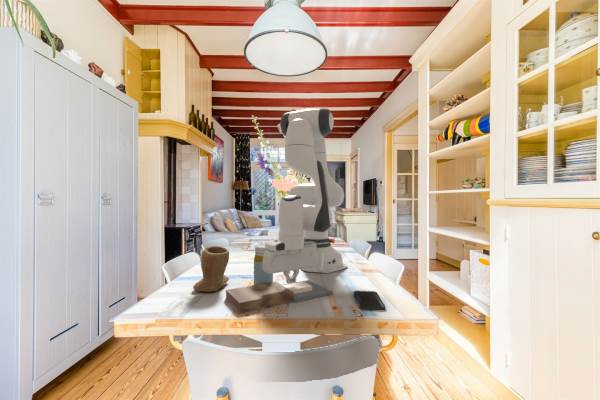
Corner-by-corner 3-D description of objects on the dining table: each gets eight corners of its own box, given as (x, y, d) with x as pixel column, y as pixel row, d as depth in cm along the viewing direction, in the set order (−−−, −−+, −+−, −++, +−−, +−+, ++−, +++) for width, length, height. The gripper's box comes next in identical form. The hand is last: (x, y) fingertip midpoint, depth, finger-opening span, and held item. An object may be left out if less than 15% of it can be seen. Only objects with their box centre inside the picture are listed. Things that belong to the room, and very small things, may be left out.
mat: (308, 282, 114) (308, 280, 114) (332, 294, 101) (332, 291, 101) (274, 289, 106) (274, 286, 106) (295, 302, 93) (295, 299, 93)
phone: (376, 291, 102) (386, 308, 87) (376, 294, 102) (386, 312, 87) (353, 290, 102) (359, 307, 87) (353, 293, 102) (359, 311, 88)
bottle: (250, 286, 109) (250, 246, 109) (264, 282, 114) (264, 243, 114) (262, 290, 104) (262, 248, 104) (276, 286, 109) (276, 246, 109)
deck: (275, 289, 105) (275, 281, 105) (293, 301, 94) (293, 292, 94) (225, 299, 96) (225, 290, 96) (239, 313, 85) (239, 302, 85)
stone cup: (221, 295, 99) (221, 251, 99) (188, 293, 101) (188, 250, 101) (237, 281, 114) (237, 243, 114) (208, 280, 116) (208, 242, 116)
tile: (303, 285, 107) (303, 281, 107) (312, 290, 102) (312, 286, 102) (281, 289, 102) (281, 285, 102) (289, 294, 97) (289, 290, 97)
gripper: (311, 238, 109) (311, 276, 109) (260, 243, 98) (260, 284, 99) (321, 241, 103) (321, 280, 104) (268, 246, 93) (268, 290, 93)
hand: (291, 282), depth 101 cm, fingers closed
